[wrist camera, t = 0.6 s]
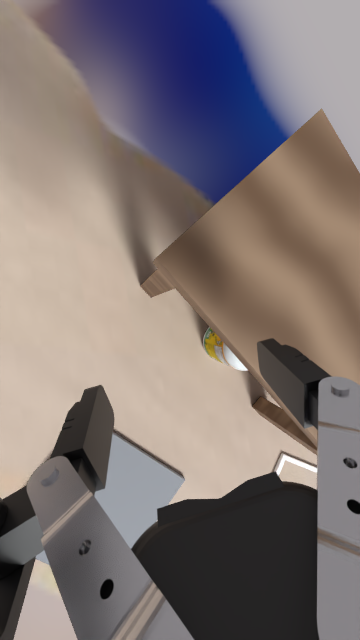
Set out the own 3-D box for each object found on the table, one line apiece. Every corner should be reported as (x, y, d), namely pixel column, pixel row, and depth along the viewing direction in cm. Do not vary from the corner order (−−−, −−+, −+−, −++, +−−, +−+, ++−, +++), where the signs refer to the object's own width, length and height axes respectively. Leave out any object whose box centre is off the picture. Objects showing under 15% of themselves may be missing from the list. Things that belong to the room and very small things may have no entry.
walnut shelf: (259, 419, 35) (371, 502, 20) (134, 285, 30) (156, 257, 14) (326, 340, 38) (468, 359, 23) (223, 204, 33) (321, 108, 17)
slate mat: (-8, 533, 26) (-11, 538, 26) (87, 415, 29) (87, 417, 28) (107, 585, 30) (107, 590, 30) (183, 477, 32) (185, 480, 32)
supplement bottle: (210, 365, 33) (248, 387, 24) (195, 331, 32) (228, 340, 23) (241, 348, 34) (288, 362, 25) (228, 315, 33) (271, 316, 24)
